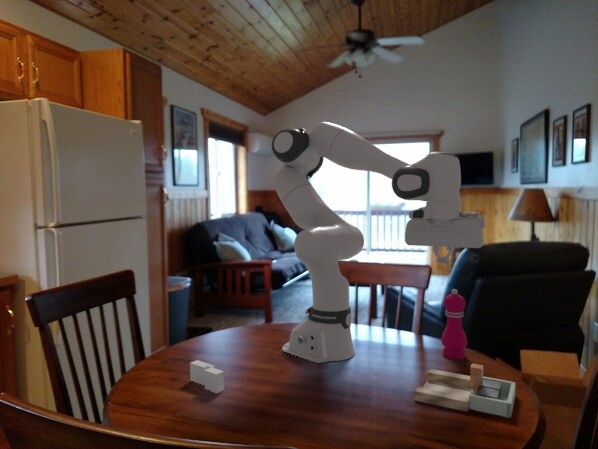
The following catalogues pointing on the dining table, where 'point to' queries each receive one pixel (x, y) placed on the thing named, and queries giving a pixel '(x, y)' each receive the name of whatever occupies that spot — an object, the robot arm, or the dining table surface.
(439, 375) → the slot board
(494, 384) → the dark grey block
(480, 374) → the block
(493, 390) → the chip
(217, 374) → the white stepped block
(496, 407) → the tray
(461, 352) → the pepper mill
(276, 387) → the dining table surface
